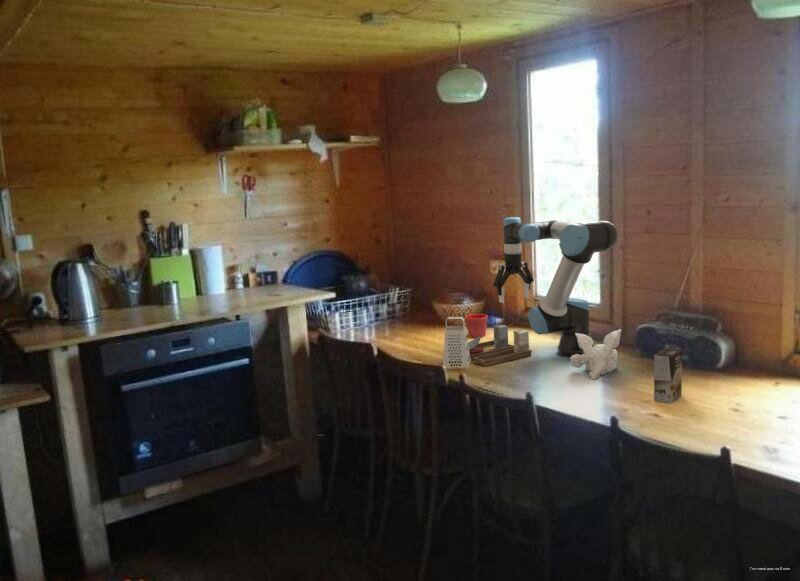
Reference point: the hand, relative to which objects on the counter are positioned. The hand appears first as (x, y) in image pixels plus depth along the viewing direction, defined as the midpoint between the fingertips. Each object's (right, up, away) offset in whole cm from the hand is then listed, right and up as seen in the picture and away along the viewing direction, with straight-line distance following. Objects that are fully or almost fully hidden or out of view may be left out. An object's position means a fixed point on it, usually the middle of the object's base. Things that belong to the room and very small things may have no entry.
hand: (514, 300), depth 322 cm
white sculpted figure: (+25, -27, -44) cm, 57 cm away
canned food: (-19, -24, -8) cm, 32 cm away
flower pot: (-14, -18, +25) cm, 33 cm away
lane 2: (-8, -25, -18) cm, 31 cm away
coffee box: (+40, -32, -77) cm, 93 cm away
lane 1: (-15, -23, -6) cm, 28 cm away
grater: (-27, -27, -22) cm, 44 cm away
